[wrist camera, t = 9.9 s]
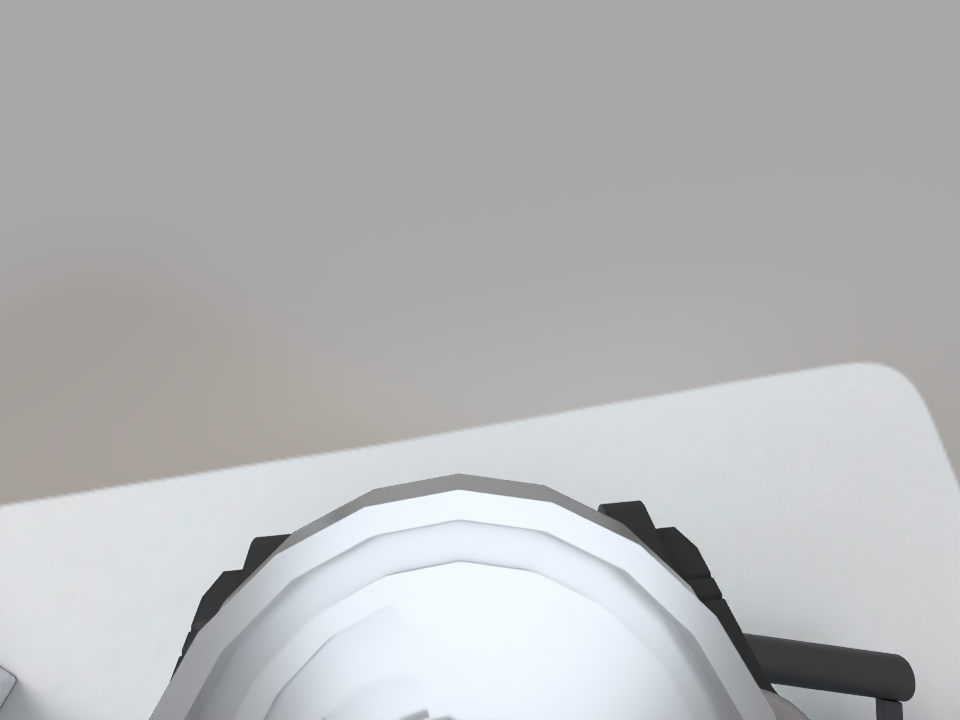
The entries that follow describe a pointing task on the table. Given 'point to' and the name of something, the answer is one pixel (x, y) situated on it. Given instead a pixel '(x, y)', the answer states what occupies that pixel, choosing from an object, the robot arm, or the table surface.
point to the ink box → (5, 684)
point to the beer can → (463, 620)
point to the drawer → (837, 671)
